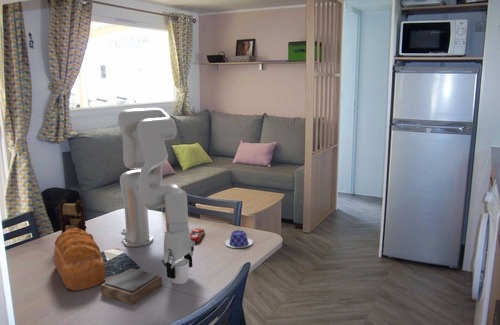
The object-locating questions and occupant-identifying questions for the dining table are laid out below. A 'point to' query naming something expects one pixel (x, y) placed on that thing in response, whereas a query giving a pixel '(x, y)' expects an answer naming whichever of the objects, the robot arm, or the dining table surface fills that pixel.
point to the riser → (131, 286)
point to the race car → (197, 234)
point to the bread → (78, 260)
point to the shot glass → (181, 271)
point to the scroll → (72, 216)
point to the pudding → (238, 240)
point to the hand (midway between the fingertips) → (180, 271)
